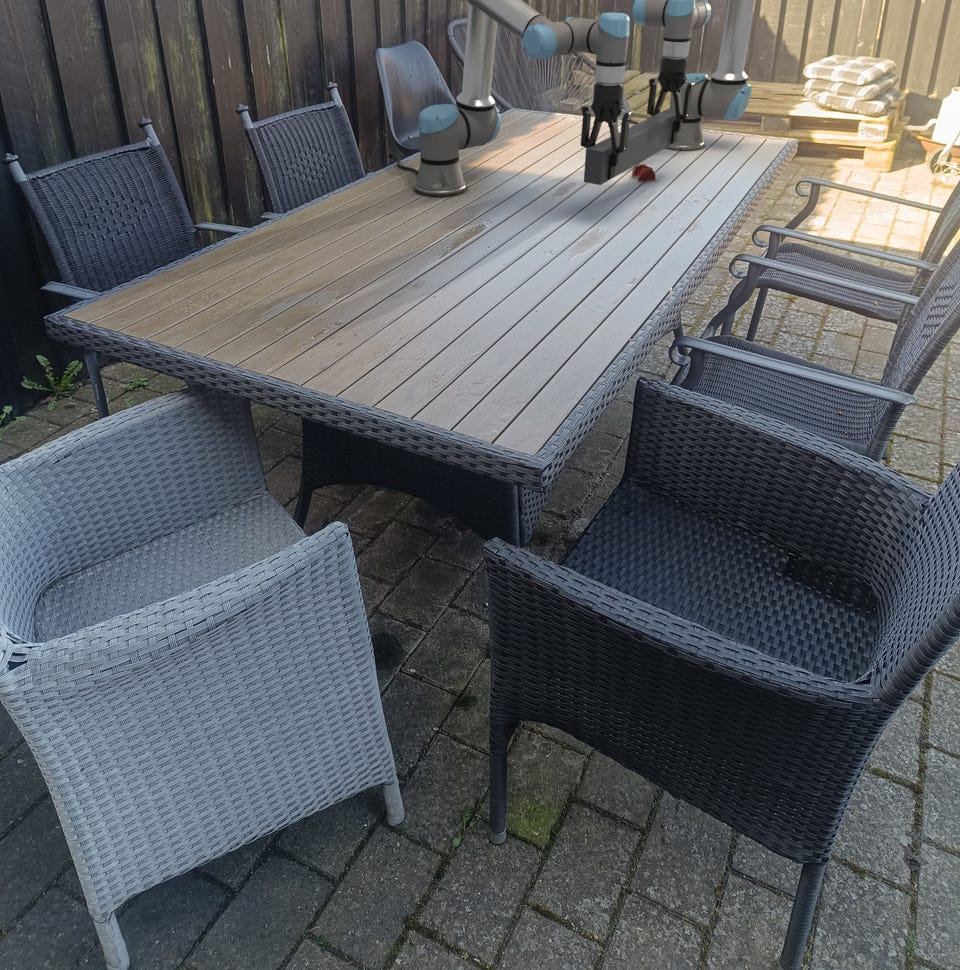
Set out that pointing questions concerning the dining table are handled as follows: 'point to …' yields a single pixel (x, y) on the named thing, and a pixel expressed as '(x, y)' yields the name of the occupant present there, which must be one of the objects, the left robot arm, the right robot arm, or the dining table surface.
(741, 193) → the dining table surface
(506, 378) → the dining table surface
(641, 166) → the red irregular lump
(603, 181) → the post
